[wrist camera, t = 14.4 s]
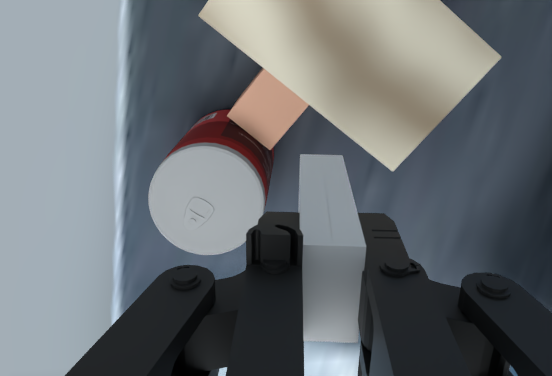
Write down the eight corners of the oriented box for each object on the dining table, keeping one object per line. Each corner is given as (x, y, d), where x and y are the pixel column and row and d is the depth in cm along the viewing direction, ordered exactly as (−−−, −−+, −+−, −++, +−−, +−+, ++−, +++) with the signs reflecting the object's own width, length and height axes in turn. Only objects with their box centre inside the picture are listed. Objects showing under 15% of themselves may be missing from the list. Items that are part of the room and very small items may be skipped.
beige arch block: (299, -86, 34) (296, -131, 22) (435, 35, 37) (501, 57, 24) (234, 8, 37) (197, 15, 25) (365, 115, 40) (392, 171, 27)
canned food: (177, 180, 43) (136, 238, 33) (198, 94, 40) (161, 128, 30) (259, 205, 43) (245, 270, 33) (286, 122, 40) (280, 165, 30)
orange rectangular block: (432, -148, 33) (458, -177, 27) (473, -106, 34) (506, -126, 28) (237, 99, 40) (226, 115, 34) (275, 129, 41) (270, 150, 35)
